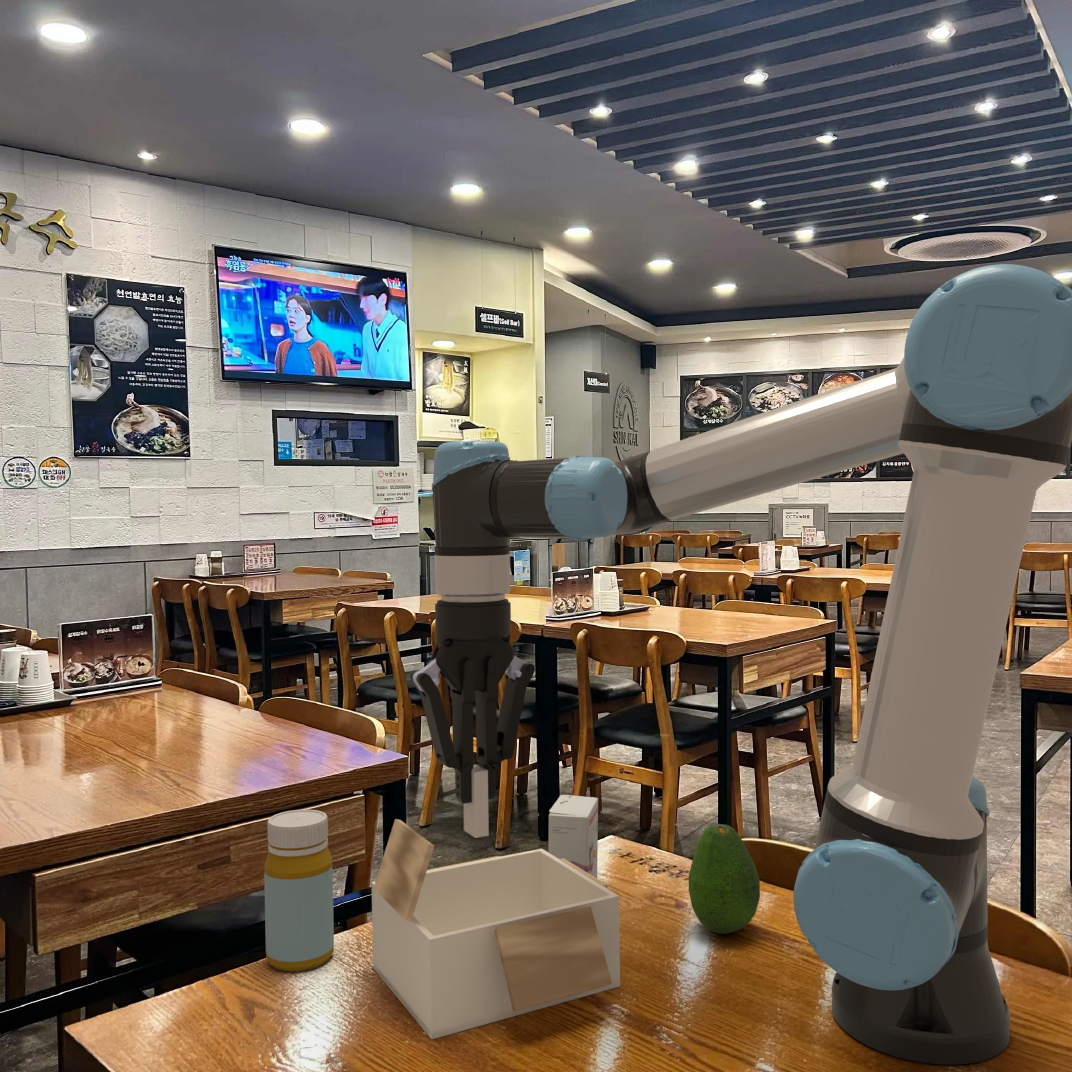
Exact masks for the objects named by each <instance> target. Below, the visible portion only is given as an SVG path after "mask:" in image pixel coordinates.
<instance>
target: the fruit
mask: <svg viewBox="0 0 1072 1072" xmlns="http://www.w3.org/2000/svg"><path fill="white" fill-rule="evenodd" d="M692 858H693V859H692V861H691V865H690V867H689V868H690V869H689V871H688V894H689V898H690V904H691V908H692V910H693V912H694V914H695V916H696V918H697V920H698V922H700V923H701V925H703V926H704V928H706V929H707V930H709V931H711V932H713V933H716V934H719V935H721V934H723V935H726V934H727V935H729V934H731V933H734V932H737V931H740V930H741V929H743V928H744V927H746V926H747V925H748V924H749V923H750V922H751V921H752V919H753V918H754V917H755V915H756V912H757V909H758V906H759V903H760V898H761V893H760V892H761V890H760V889H761V885H760V884H761V881H760V877H759V874H758V870H757V867H756V864H755V862H754V860H753V858H752V857H751V855H750V853H749V851H748V848H747V846H746V844H745V842H744V841H743V839H742V838H741V836H740V834H739V833H738V832H737V831H736V829H735V828H733V827H732V826H730V825H729V824H721V823H715V824H713V825H711V826H709V827H706V828H705V829H704V830H703V832H702V834H701V835H700V838H699V839H698V842H697V845H696V848H695V852H694V855H693V857H692Z"/></svg>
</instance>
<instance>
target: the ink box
mask: <svg viewBox="0 0 1072 1072" xmlns="http://www.w3.org/2000/svg"><path fill="white" fill-rule="evenodd" d="M598 810H599V798H598V797H595V796H594V797H593V796H591V797H590V796H582V795H581V796H580V795H575V794H574V795H572V794H571V795H570V794H560V795H559V797H558V798H557V800H556V801H555V802H554V804H553V805H552V807H551V808H550V809H549V810H548V811H549V814H548V853H550V854H551V855H553V856H555V857H556V858H558V859H563V858H564V859H566V860H567V861H569V862H571V863H572V864H574V865H576V866H577V867H579V868H581V869H582V870H584V871H585V872H587V873H589V874H590V875H592V876H594V877H595V878H597V879H598V846H599V845H598V843H599V842H598V834H599V831H598V830H599V828H598V827H599V826H598V825H599V823H598V822H599V821H598V819H599V811H598Z"/></svg>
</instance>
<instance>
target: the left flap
mask: <svg viewBox="0 0 1072 1072" xmlns="http://www.w3.org/2000/svg"><path fill="white" fill-rule="evenodd" d="M434 848H435V845H434V844H432V842H430V841H429V840H427V839H426V838H425V837H423V836H422V835H421V834H419V832H417V831H416V830H414V829H413V828H412V827H410V826H409V825H407V824H406V823H405V822H404V821H403V820H401V819H397V818H395V819H394V822H393V825H392V827H391V832H390V834H389V837H388V840H387V845H386V847H385V850H384V852H383V853H384V854H383V857H382V860H381V862H380V867H379V870H378V873H377V876H376V879H375V881H376V882H375V885H374V889H375V890H376V891H377V892H378V893H379V894H380V895H381V896H382V897H383V898H384V899H385V900H386V901H387V902H388V903H389V904H390V905H391V906H392V907H393V908H394V909H395V910H396V911H397V912H398V913H399V914H400V915H401V916H402V917H403V918H404V919H405V920H406V921H412V917H413V914H414V911H415V908H416V904H417V901H418V898H419V894H420V891H421V888H422V885H423V881H424V878H425V875H426V872H427V870H428V868H429V865H430V862H431V858H432V855H433V852H434Z"/></svg>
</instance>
